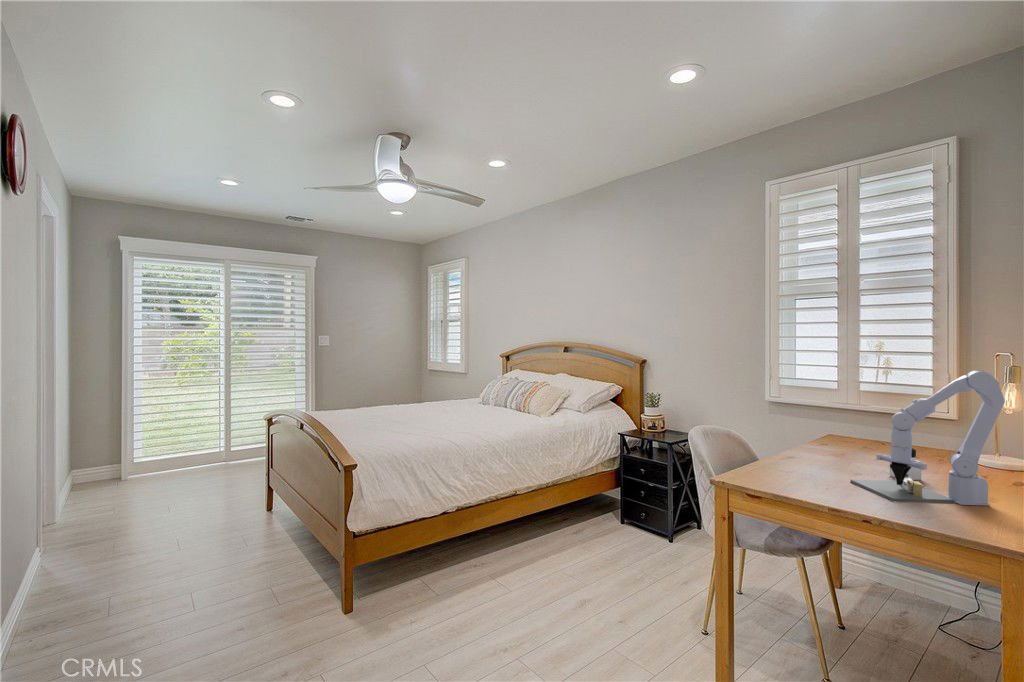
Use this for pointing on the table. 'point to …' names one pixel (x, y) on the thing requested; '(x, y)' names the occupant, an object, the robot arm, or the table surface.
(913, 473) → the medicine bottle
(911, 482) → the keeper
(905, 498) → the board
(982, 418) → the robot arm
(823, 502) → the table surface
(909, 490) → the link
